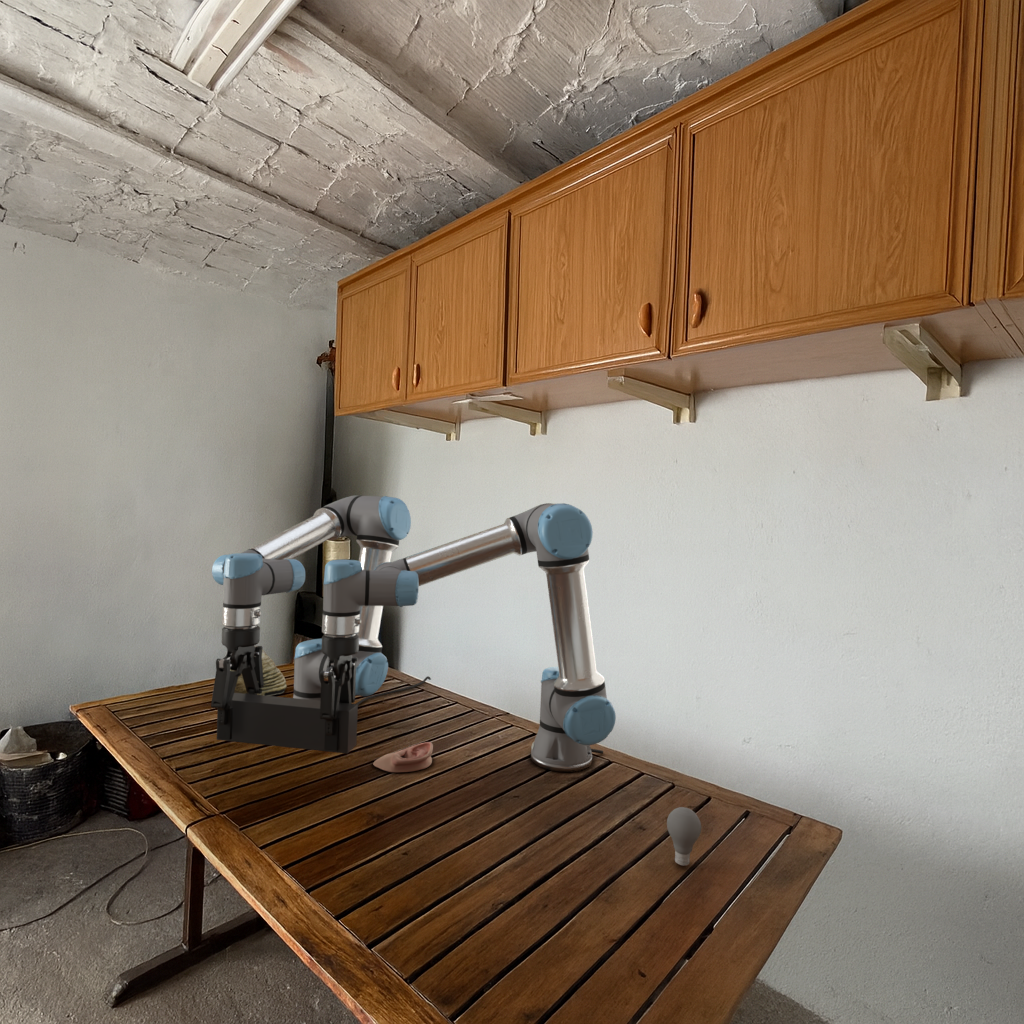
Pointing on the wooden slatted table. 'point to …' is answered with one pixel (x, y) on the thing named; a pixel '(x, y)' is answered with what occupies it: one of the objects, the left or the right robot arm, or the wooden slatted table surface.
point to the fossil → (266, 679)
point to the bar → (288, 722)
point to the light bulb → (683, 832)
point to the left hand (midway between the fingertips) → (237, 730)
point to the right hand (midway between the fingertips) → (336, 744)
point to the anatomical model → (407, 759)
